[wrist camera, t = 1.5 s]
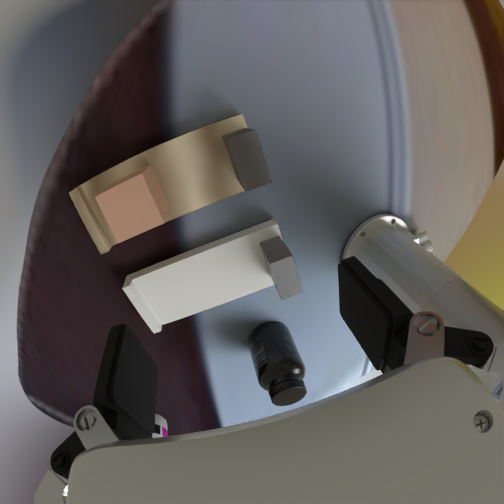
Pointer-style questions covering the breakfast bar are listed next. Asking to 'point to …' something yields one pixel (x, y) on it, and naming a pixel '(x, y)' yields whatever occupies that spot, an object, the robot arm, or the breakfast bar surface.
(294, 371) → the supplement bottle
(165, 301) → the light grey piece
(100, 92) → the breakfast bar surface
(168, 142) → the birch strip
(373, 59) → the breakfast bar surface
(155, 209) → the terracotta block
